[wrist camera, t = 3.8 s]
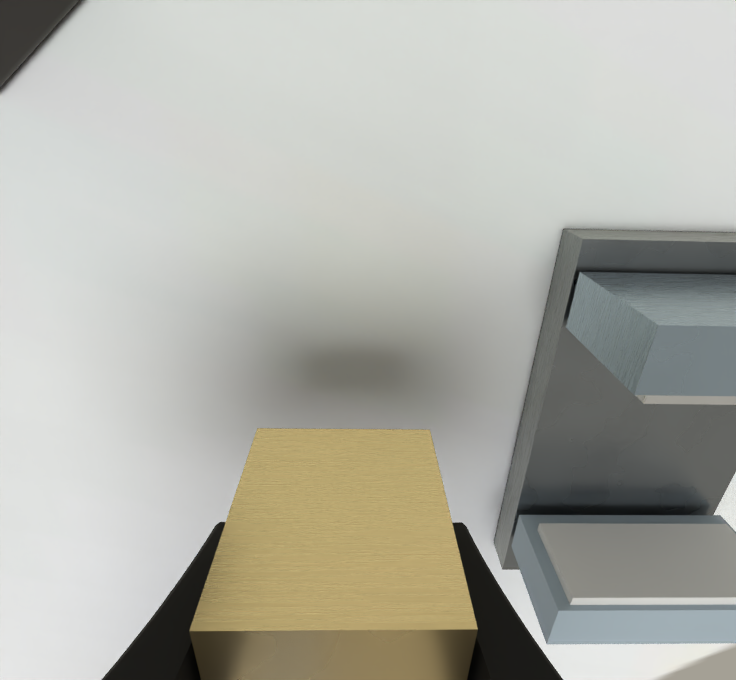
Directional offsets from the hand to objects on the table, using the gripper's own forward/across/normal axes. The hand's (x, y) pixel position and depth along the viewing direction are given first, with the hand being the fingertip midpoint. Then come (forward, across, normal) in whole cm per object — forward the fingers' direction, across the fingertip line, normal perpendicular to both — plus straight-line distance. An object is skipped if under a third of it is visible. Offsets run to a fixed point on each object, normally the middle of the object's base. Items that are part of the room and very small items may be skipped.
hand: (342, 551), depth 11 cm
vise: (+8, -12, +2) cm, 15 cm away
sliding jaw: (+7, -12, +7) cm, 15 cm away
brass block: (+2, 0, 0) cm, 2 cm away
